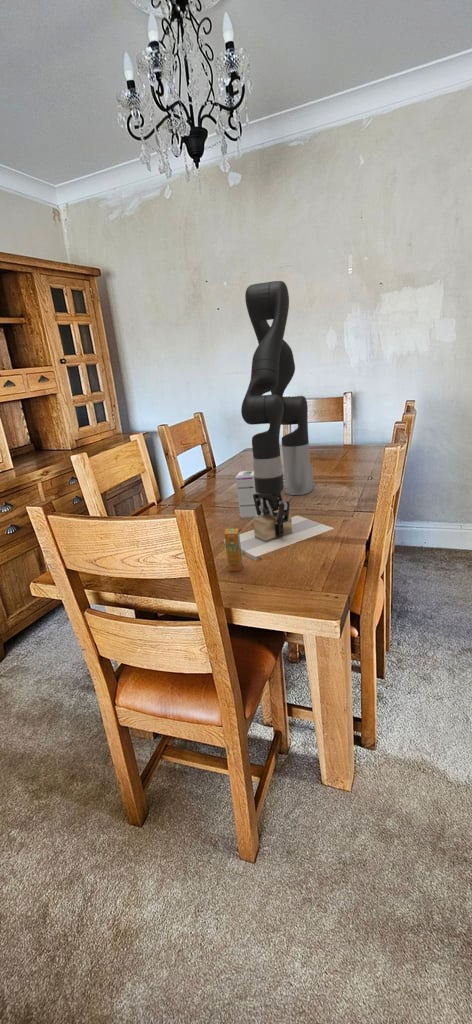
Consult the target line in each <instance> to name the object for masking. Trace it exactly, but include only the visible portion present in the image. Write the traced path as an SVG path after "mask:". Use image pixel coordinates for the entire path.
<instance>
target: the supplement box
mask: <svg viewBox="0 0 472 1024" xmlns="http://www.w3.org/2000/svg"><path fill="white" fill-rule="evenodd" d="M239 534H240V529H239V527H238V528H237V527H236V528H225V530H224V539H225V544H226V545H225V544H224V545H225V552H226V559H227V569H228V572H241V571H242V568H243V565H244V563H243V558H242V557H243V554H242V553H241V545H240V536H239Z"/></svg>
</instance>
